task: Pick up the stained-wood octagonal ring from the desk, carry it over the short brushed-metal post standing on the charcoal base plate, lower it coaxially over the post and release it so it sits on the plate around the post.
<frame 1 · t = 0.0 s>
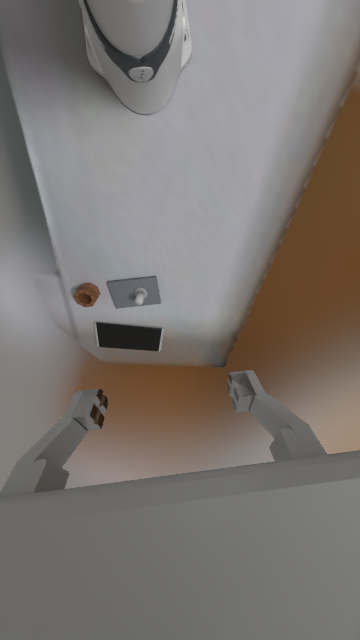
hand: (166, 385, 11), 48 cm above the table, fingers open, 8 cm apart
post stand: (135, 292, 59), on the table
ring: (90, 291, 57), on the table
smartphone: (130, 335, 71), on the table
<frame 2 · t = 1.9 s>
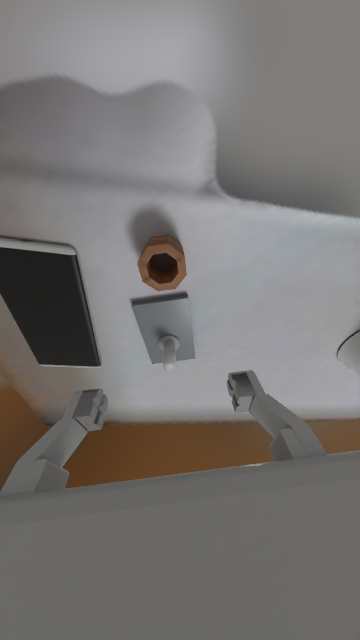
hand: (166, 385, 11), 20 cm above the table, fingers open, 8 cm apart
post stand: (167, 331, 35), on the table
ring: (163, 257, 26), on the table
smartphone: (57, 315, 32), on the table
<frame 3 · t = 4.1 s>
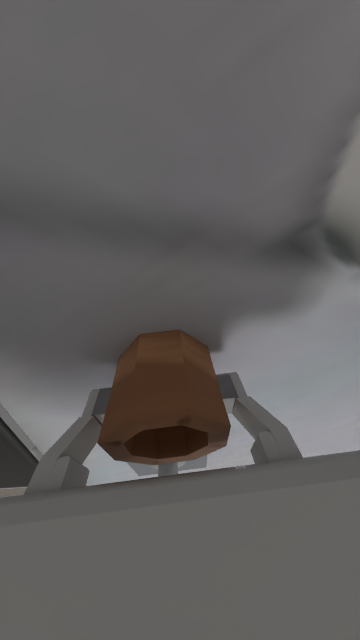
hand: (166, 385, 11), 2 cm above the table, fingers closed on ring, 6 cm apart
post stand: (165, 442, 21), on the table
ring: (166, 363, 12), on the table, touching gripper
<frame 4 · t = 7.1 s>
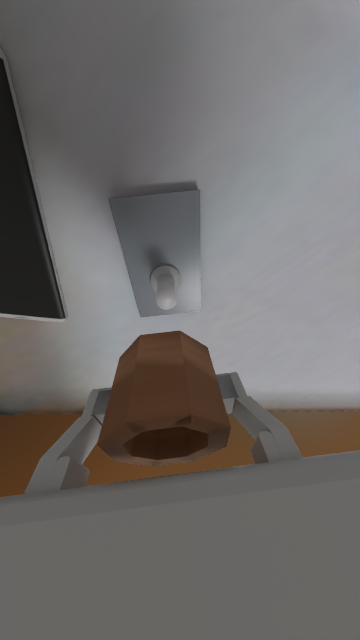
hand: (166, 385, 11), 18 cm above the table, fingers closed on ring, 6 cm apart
post stand: (164, 263, 24), on the table
ring: (166, 363, 12), point 16 cm above the table, touching gripper
when the fingers open (5 cm above the table, at t = 10.2 s): ring drops 1 cm, resting on post stand.
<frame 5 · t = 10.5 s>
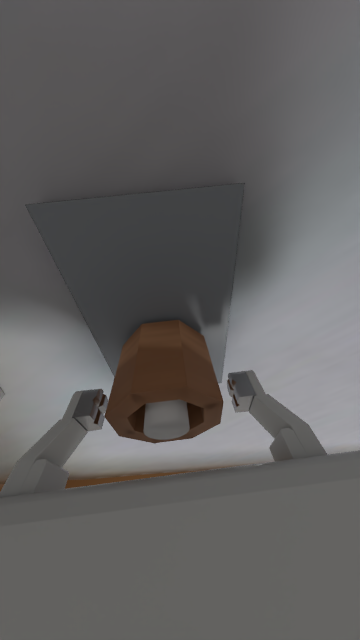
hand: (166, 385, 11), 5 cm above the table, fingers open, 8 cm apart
post stand: (161, 319, 13), on the table
ring: (165, 352, 13), point 2 cm above the table, touching post stand
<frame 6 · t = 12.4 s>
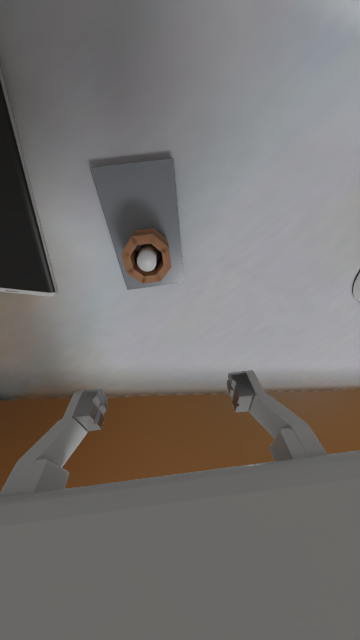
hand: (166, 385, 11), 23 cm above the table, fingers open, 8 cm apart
post stand: (146, 234, 26), on the table
ring: (149, 250, 26), point 2 cm above the table, touching post stand
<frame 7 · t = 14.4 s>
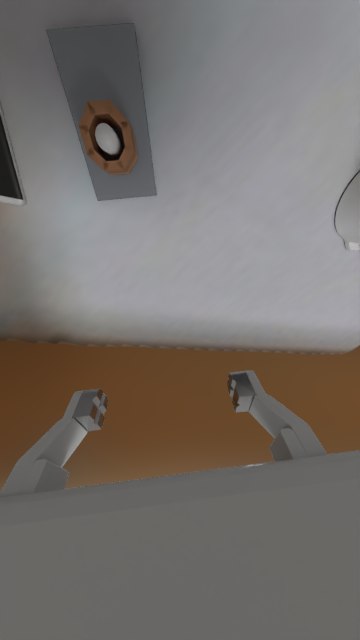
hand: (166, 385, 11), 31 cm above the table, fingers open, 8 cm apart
post stand: (114, 131, 25), on the table
ring: (116, 147, 25), point 2 cm above the table, touching post stand
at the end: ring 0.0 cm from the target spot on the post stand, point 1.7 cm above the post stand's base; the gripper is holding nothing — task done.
